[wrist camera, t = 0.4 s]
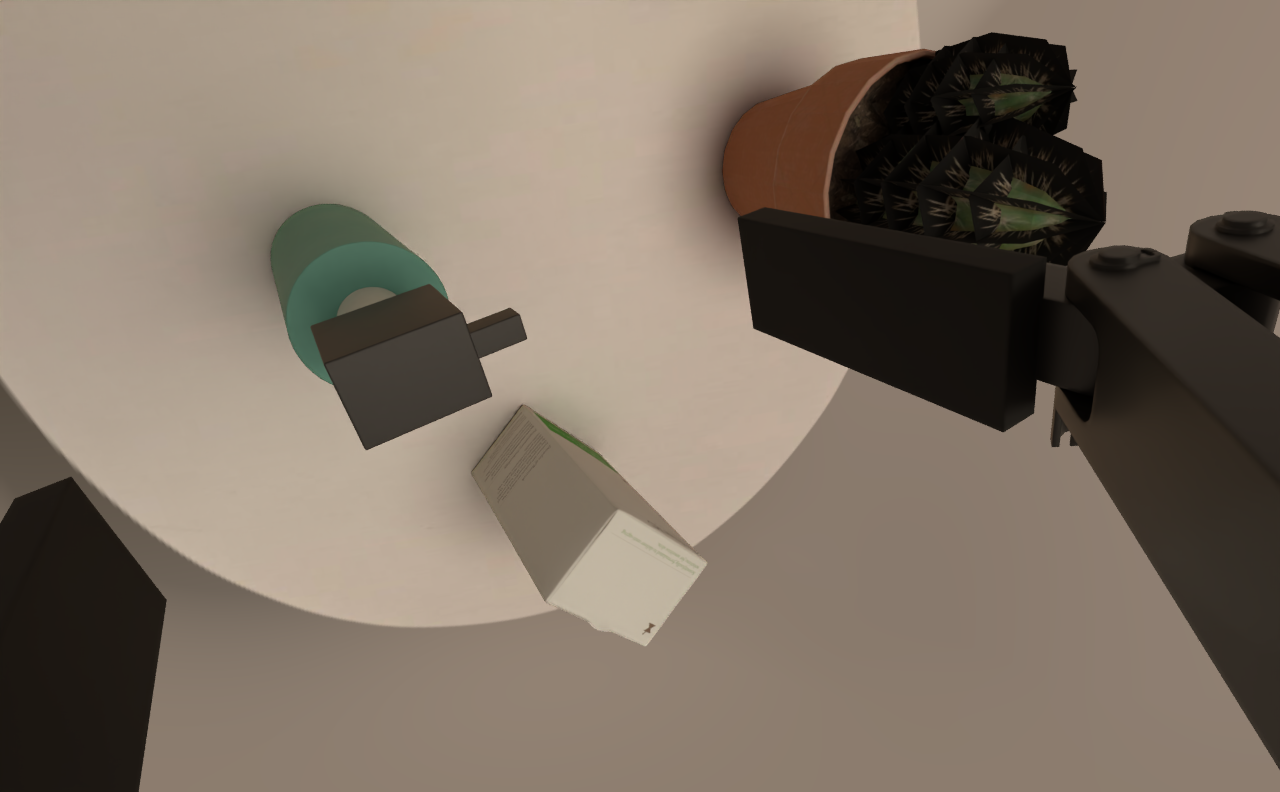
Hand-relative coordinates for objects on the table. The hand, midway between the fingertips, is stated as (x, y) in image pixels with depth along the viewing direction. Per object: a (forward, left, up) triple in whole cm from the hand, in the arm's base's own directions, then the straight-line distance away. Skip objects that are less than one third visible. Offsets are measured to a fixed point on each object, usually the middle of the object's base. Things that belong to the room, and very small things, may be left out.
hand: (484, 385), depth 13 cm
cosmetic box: (+21, +6, -30) cm, 37 cm away
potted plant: (+6, +30, -30) cm, 43 cm away
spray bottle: (+3, -1, -30) cm, 30 cm away
